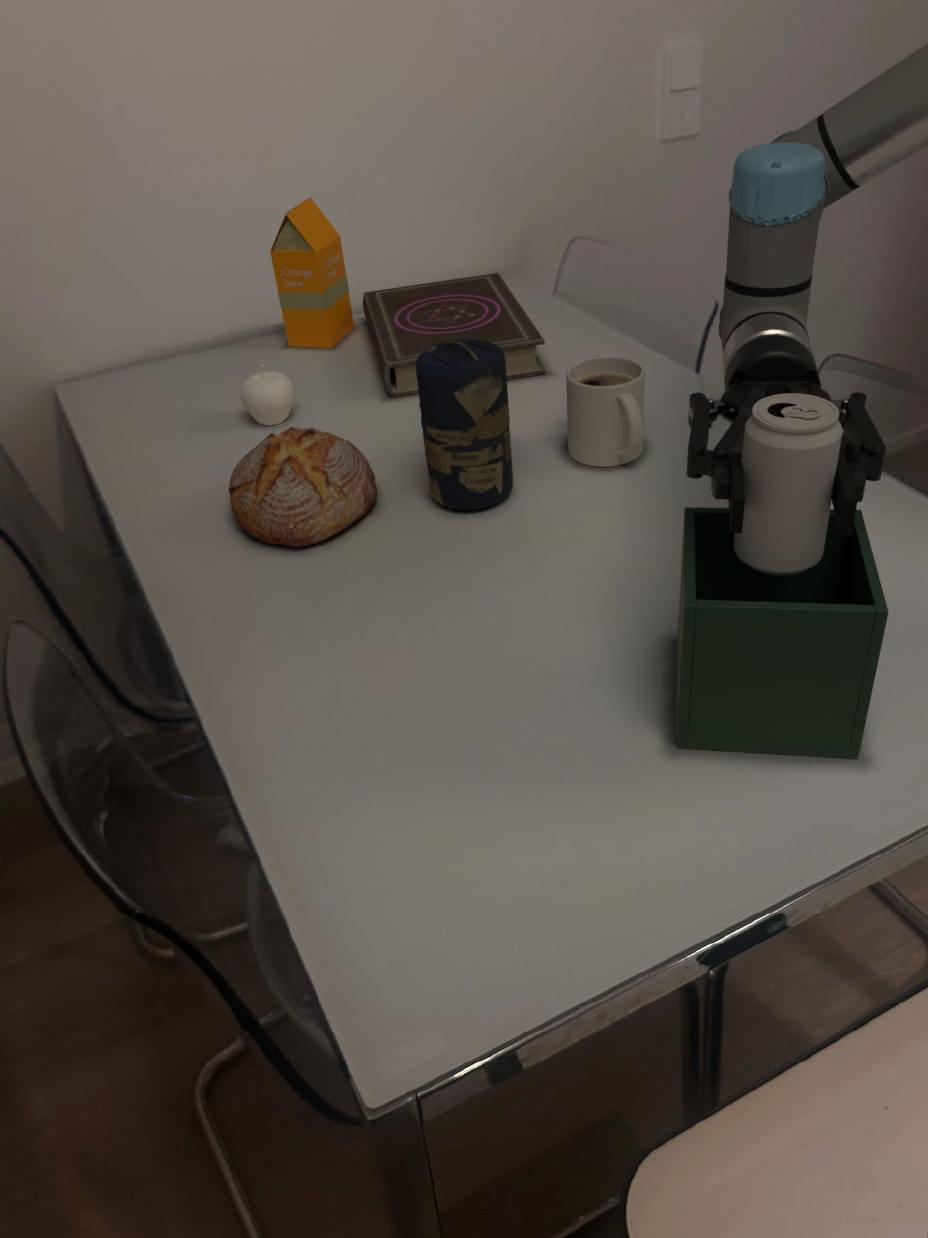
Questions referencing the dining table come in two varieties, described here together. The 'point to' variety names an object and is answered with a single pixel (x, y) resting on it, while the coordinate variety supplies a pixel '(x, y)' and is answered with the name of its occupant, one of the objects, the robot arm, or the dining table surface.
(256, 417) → the plain white apple
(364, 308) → the book
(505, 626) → the dining table surface
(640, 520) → the dining table surface
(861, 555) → the waste bin
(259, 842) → the dining table surface
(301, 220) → the orange juice
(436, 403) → the canister
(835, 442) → the beverage can
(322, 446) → the bread
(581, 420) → the mug
